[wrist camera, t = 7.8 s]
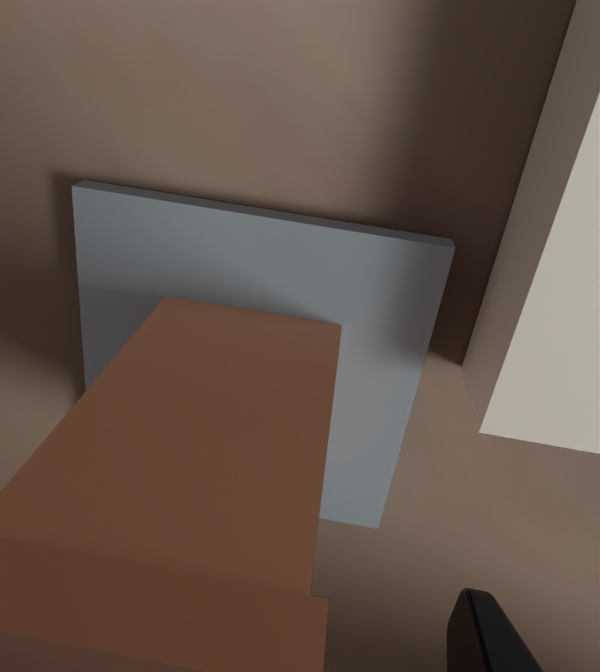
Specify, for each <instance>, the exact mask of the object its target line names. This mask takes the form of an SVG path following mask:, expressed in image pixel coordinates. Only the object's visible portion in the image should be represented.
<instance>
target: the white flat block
mask: <svg viewBox="0 0 600 672" xmlns="http://www.w3.org/2000/svg"><path fill="white" fill-rule="evenodd" d="M462 371H463V375H464V378H465V382H466V386H467V390H468V393H469V397H470V401H471V404H472V408H473V412H474V416H475V419H476V423H477V427H478V430H479V433H485V434H491V435H496V436H502V437H508V438H513V439H519V440H525V441H530V442H536V443H542V444H547V445H553V446H559V447H564V448H570V449H575V450H581V451H587V452H592V453H598V454H600V0H577V1H576V4H575V7H574V11H573V14H572V17H571V20H570V23H569V26H568V30H567V33H566V36H565V39H564V42H563V46H562V49H561V52H560V55H559V58H558V62H557V65H556V68H555V71H554V74H553V77H552V81H551V84H550V87H549V90H548V93H547V97H546V100H545V103H544V106H543V109H542V113H541V116H540V119H539V122H538V125H537V128H536V132H535V135H534V138H533V141H532V144H531V148H530V151H529V154H528V157H527V160H526V164H525V167H524V170H523V173H522V176H521V179H520V183H519V186H518V189H517V192H516V195H515V199H514V202H513V205H512V208H511V211H510V215H509V218H508V221H507V224H506V227H505V230H504V234H503V237H502V240H501V243H500V246H499V250H498V253H497V256H496V259H495V262H494V266H493V269H492V272H491V275H490V278H489V281H488V285H487V288H486V291H485V294H484V297H483V301H482V304H481V307H480V310H479V313H478V317H477V320H476V323H475V326H474V329H473V332H472V336H471V339H470V342H469V345H468V348H467V352H466V355H465V358H464V361H463V364H462Z"/></svg>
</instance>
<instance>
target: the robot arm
mask: <svg viewBox="0 0 600 672" xmlns="http://www.w3.org/2000/svg"><path fill="white" fill-rule="evenodd" d="M447 672H543V670H542V669H541V667H540V666H539V664H538V663H537V661H536V660H535V658H534V657H533V655H532V654H531V652H530V651H529V649H528V648H527V646H526V645H525V643H524V642H523V640H522V639H521V637H520V636H519V634H518V633H517V631H516V630H515V628H514V627H513V625H512V624H511V622H510V621H509V619H508V618H507V616H506V615H505V613H504V612H503V610H502V609H501V607H500V606H499V604H498V603H497V601H496V600H495V598H494V597H493V596H492V595H491V594H490V593H488V592H485V591H480V590H475V589H470V588H465V589H463V590H462V591H461V592H460V594H459V597H458V599H457V602H456V604H455V607H454V609H453V612H452V614H451V617H450V619H449V622H448V627H447Z"/></svg>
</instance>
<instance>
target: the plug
mask: <svg viewBox="0 0 600 672" xmlns="http://www.w3.org/2000/svg"><path fill="white" fill-rule="evenodd" d="M341 331H342V325H337V324H331V323H325V322H319V321H313V320H307V319H301V318H295V317H289V316H283V315H277V314H271V313H265V312H259V311H253V310H247V309H241V308H235V307H229V306H223V305H217V304H211V303H205V302H199V301H193V300H187V299H181V298H175V297H169V296H166V297H165V298H164V299H163V300H162V301H161V303H160V304H159V305H158V306H157V307H156V308H155V310H154V311H153V312H152V313H151V314H150V316H149V317H148V318H147V319H146V320H145V322H144V323H143V324H142V325H141V326H140V327H139V329H138V330H137V331H136V332H135V333H134V335H133V336H132V337H131V338H130V339H129V341H128V342H127V343H126V344H125V345H124V346H123V348H122V349H121V350H120V351H119V352H118V354H117V355H116V356H115V357H114V358H113V360H112V361H111V362H110V363H109V364H108V366H107V367H106V368H105V369H104V370H103V371H102V373H101V374H100V375H99V376H98V377H97V379H96V380H95V381H94V382H93V383H92V385H91V386H90V387H89V388H88V389H87V390H86V392H85V393H84V394H83V395H82V396H81V398H80V399H79V400H78V401H77V402H76V404H75V405H74V406H73V407H72V408H71V409H70V411H69V412H68V413H67V414H66V415H65V417H64V418H63V419H62V420H61V421H60V423H59V424H58V425H57V426H56V427H55V428H54V430H53V431H52V432H51V433H50V434H49V436H48V437H47V438H46V439H45V440H44V442H43V443H42V444H41V445H40V446H39V447H38V449H37V450H36V451H35V452H34V453H33V455H32V456H31V457H30V458H29V459H28V461H27V462H26V463H25V464H24V465H23V467H22V468H21V469H20V470H19V471H18V472H17V474H16V475H15V476H14V477H13V478H12V480H11V481H10V482H9V483H8V484H7V486H6V487H5V488H4V489H3V490H2V491H1V493H0V672H323V666H324V654H325V642H326V630H327V618H328V606H329V599H326V598H320V597H315V596H310V590H311V582H312V573H313V565H314V556H315V548H316V540H317V531H318V523H319V515H320V506H321V498H322V490H323V481H324V473H325V465H326V456H327V448H328V439H329V431H330V423H331V414H332V406H333V398H334V389H335V381H336V373H337V364H338V356H339V348H340V339H341Z"/></svg>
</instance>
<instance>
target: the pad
mask: <svg viewBox="0 0 600 672" xmlns="http://www.w3.org/2000/svg"><path fill="white" fill-rule="evenodd" d="M72 200H73V215H74V230H75V244H76V259H77V274H78V289H79V303H80V318H81V333H82V347H83V362H84V377H85V392H86V390H87V389H88V388H89V387H90V386H91V385H92V383H93V382H94V381H95V380H96V379H97V377H98V376H99V375H100V374H101V373H102V371H103V370H104V369H105V368H106V367H107V366H108V364H109V363H110V362H111V361H112V360H113V358H114V357H115V356H116V355H117V354H118V352H119V351H120V350H121V349H122V348H123V346H124V345H125V344H126V343H127V342H128V341H129V339H130V338H131V337H132V336H133V335H134V333H135V332H136V331H137V330H138V329H139V327H140V326H141V325H142V324H143V323H144V322H145V320H146V319H147V318H148V317H149V316H150V314H151V313H152V312H153V311H154V310H155V308H156V307H157V306H158V305H159V304H160V303H161V301H162V300H163V299H164V298H165V297H166V296H169V297H175V298H181V299H187V300H193V301H199V302H205V303H211V304H217V305H223V306H229V307H235V308H241V309H247V310H253V311H259V312H265V313H271V314H277V315H283V316H289V317H295V318H301V319H307V320H313V321H319V322H325V323H331V324H337V325H342V331H341V339H340V348H339V356H338V364H337V373H336V381H335V389H334V398H333V406H332V414H331V423H330V431H329V439H328V448H327V456H326V465H325V473H324V481H323V490H322V498H321V506H320V515H319V518H321V519H326V520H332V521H337V522H342V523H348V524H353V525H358V526H364V527H369V528H375V529H379V525H380V521H381V518H382V514H383V510H384V507H385V503H386V500H387V496H388V492H389V489H390V485H391V481H392V478H393V474H394V470H395V467H396V463H397V459H398V456H399V452H400V449H401V445H402V441H403V438H404V434H405V430H406V427H407V423H408V419H409V416H410V412H411V408H412V405H413V401H414V398H415V394H416V390H417V387H418V383H419V379H420V376H421V372H422V368H423V365H424V361H425V357H426V354H427V350H428V347H429V343H430V339H431V336H432V332H433V328H434V325H435V321H436V317H437V314H438V310H439V306H440V303H441V299H442V296H443V292H444V288H445V285H446V281H447V277H448V274H449V270H450V266H451V263H452V259H453V255H454V252H455V245H454V243H453V240H452V239H450V238H443V237H437V236H431V235H425V234H418V233H412V232H406V231H400V230H394V229H387V228H381V227H375V226H369V225H363V224H356V223H350V222H344V221H338V220H332V219H325V218H319V217H313V216H307V215H300V214H294V213H288V212H282V211H276V210H269V209H263V208H257V207H251V206H245V205H238V204H232V203H226V202H220V201H214V200H207V199H201V198H195V197H189V196H182V195H176V194H170V193H164V192H158V191H151V190H145V189H139V188H133V187H127V186H120V185H114V184H108V183H102V182H96V181H89V180H83V181H81V182H79V183H77V184H75V185H72Z"/></svg>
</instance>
